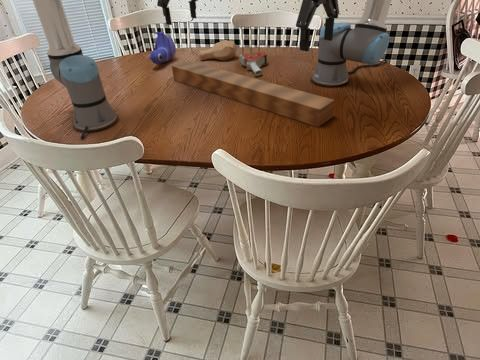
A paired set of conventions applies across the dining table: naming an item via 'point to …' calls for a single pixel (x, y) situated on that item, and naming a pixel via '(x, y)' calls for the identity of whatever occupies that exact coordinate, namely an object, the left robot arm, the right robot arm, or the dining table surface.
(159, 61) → the toy
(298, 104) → the slab
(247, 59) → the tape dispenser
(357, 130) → the dining table surface
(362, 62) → the right robot arm
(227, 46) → the squash
